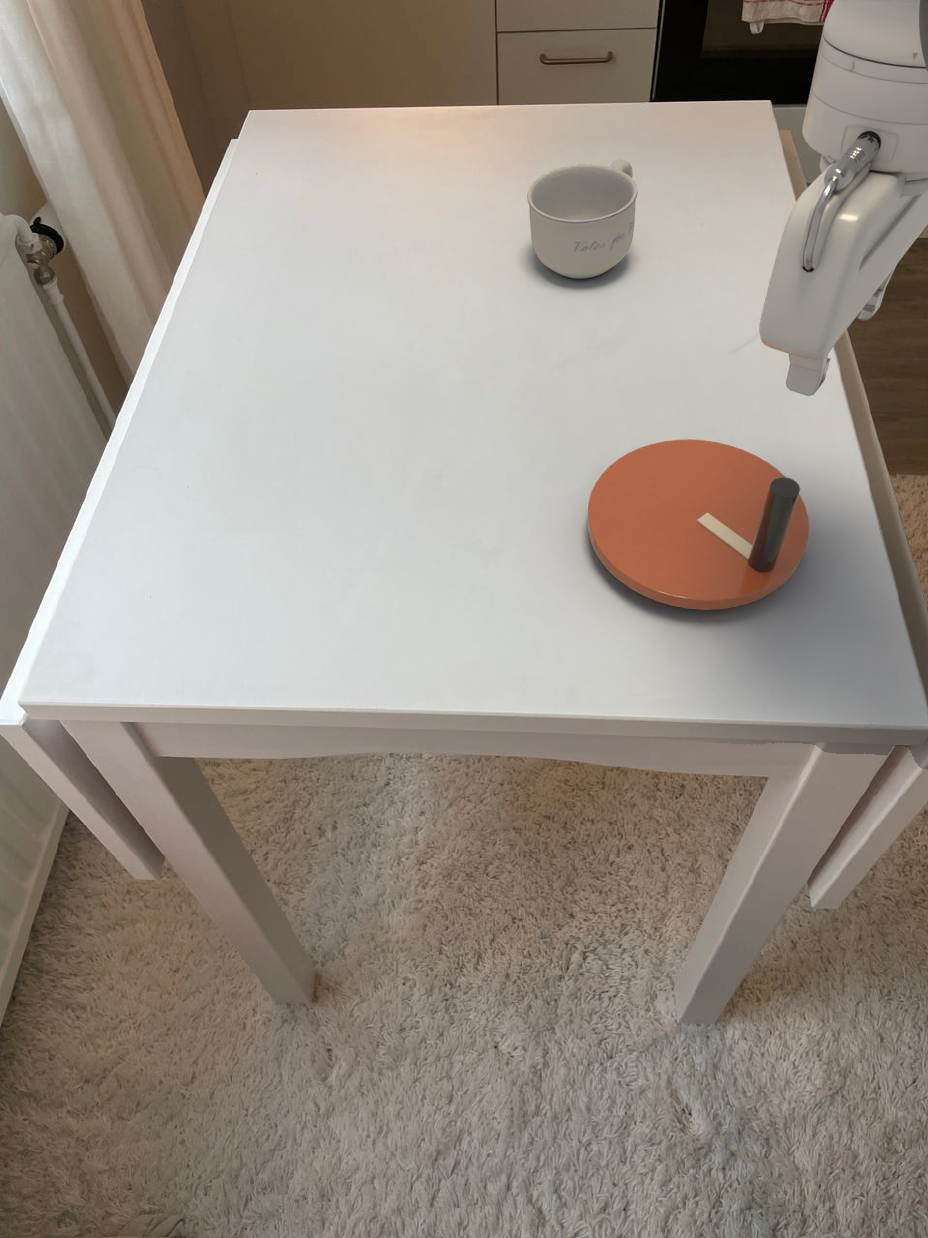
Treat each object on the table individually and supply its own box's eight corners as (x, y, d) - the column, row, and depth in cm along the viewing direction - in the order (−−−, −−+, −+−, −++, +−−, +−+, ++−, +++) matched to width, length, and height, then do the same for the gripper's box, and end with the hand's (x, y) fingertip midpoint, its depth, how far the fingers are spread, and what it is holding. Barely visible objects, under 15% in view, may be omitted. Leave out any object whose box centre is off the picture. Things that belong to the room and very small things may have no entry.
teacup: (579, 305, 96) (583, 231, 89) (505, 261, 101) (504, 189, 94) (672, 248, 101) (682, 174, 94) (597, 209, 106) (602, 137, 99)
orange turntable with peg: (818, 472, 78) (849, 383, 71) (789, 633, 69) (821, 551, 62) (615, 433, 82) (624, 345, 75) (562, 580, 73) (566, 496, 66)
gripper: (896, 196, 40) (820, 457, 51) (1020, 50, 51) (937, 289, 62) (755, 166, 43) (710, 420, 53) (901, 33, 54) (841, 265, 64)
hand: (833, 348), depth 57 cm, fingers open, 8 cm apart
